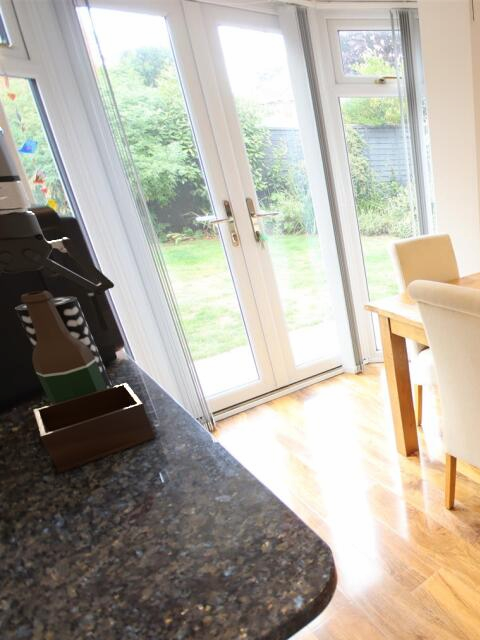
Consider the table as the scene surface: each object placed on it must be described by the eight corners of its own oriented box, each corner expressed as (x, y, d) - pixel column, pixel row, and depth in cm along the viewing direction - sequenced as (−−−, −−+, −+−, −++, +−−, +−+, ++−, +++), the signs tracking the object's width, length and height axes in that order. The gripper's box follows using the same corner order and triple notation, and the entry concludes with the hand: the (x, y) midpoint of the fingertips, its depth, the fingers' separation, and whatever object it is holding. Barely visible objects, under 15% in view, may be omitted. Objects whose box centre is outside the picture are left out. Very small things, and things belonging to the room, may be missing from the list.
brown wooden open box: (49, 444, 77) (33, 409, 74) (138, 414, 85) (126, 382, 83) (59, 473, 69) (40, 436, 67) (155, 437, 78) (142, 403, 75)
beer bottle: (59, 436, 79) (-4, 302, 70) (63, 418, 85) (5, 293, 76) (117, 420, 84) (64, 292, 75) (116, 404, 89) (68, 284, 80)
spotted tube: (59, 399, 92) (15, 303, 85) (111, 385, 97) (75, 294, 90) (60, 413, 86) (14, 312, 79) (116, 397, 92) (78, 301, 84)
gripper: (-137, 223, 60) (-58, 370, 68) (107, 206, 77) (147, 325, 85) (-130, 219, 64) (-57, 357, 72) (99, 203, 81) (137, 317, 89)
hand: (53, 340), depth 79 cm, fingers open, 13 cm apart
